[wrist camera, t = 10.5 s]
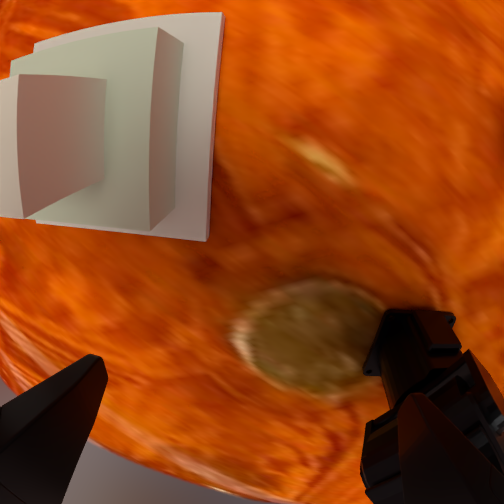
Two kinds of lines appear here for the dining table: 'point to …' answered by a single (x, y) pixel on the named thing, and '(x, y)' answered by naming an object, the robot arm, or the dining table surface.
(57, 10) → the dining table surface
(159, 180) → the base brick
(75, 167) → the pink brick
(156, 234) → the base plate
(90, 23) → the dining table surface
